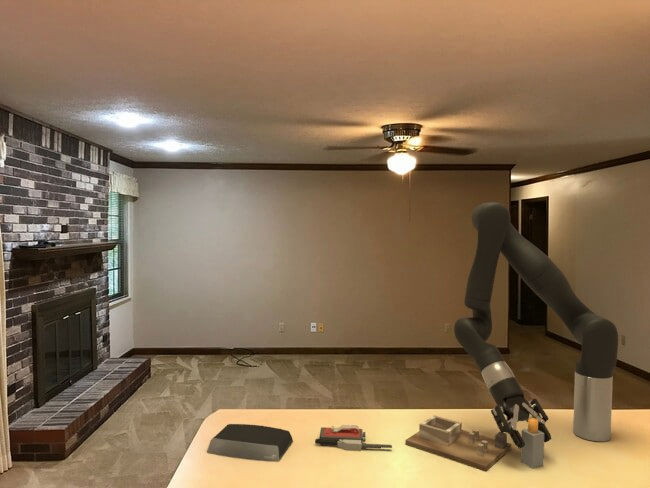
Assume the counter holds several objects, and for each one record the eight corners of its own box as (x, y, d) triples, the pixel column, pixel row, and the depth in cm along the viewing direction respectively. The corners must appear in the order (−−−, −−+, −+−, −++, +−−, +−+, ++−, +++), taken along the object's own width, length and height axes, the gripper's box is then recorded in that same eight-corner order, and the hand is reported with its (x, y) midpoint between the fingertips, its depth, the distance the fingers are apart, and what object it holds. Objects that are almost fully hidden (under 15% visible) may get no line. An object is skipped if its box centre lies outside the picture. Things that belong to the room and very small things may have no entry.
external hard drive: (277, 465, 123) (278, 448, 123) (205, 455, 128) (205, 439, 128) (294, 442, 136) (294, 427, 136) (227, 434, 141) (227, 420, 141)
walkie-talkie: (314, 450, 131) (392, 453, 130) (314, 433, 131) (392, 436, 130) (317, 436, 140) (390, 439, 139) (317, 420, 140) (390, 423, 138)
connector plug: (531, 459, 126) (532, 415, 126) (543, 465, 123) (544, 421, 123) (520, 462, 125) (522, 418, 124) (532, 468, 122) (533, 423, 121)
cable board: (434, 425, 147) (434, 409, 146) (510, 448, 132) (511, 430, 132) (405, 444, 134) (405, 426, 134) (486, 471, 120) (486, 451, 120)
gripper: (488, 379, 127) (522, 442, 117) (530, 372, 133) (566, 432, 123) (473, 393, 132) (504, 455, 122) (514, 386, 138) (547, 445, 128)
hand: (535, 444), depth 123 cm, fingers open, 8 cm apart
